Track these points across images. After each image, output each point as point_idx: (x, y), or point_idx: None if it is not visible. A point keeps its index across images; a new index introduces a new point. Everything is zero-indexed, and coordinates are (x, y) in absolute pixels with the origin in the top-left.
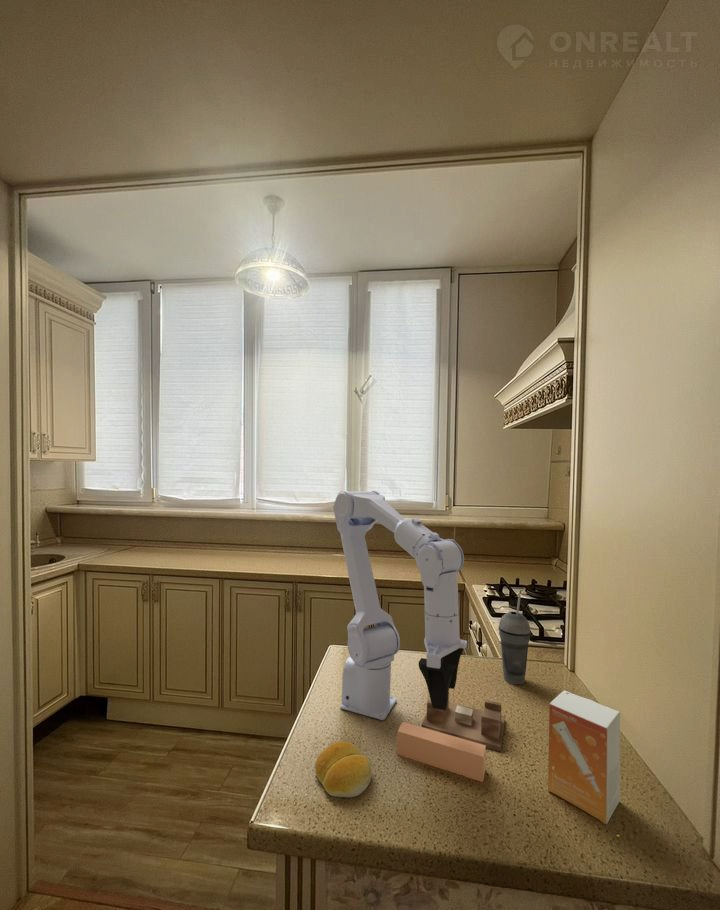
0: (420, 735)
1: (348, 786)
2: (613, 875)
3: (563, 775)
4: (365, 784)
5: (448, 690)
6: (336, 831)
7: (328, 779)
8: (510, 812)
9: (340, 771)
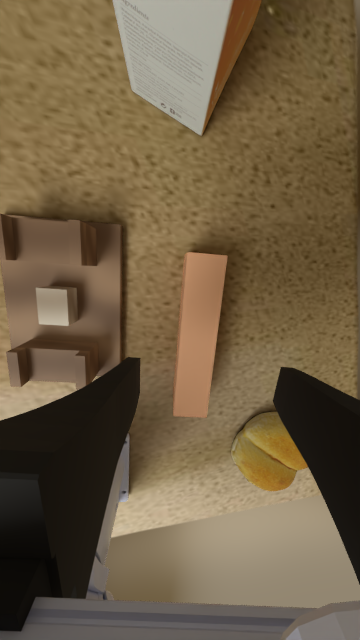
0: (203, 378)
1: None
2: (352, 49)
3: (227, 66)
4: None
5: (336, 396)
6: None
7: None
8: (269, 212)
9: None
